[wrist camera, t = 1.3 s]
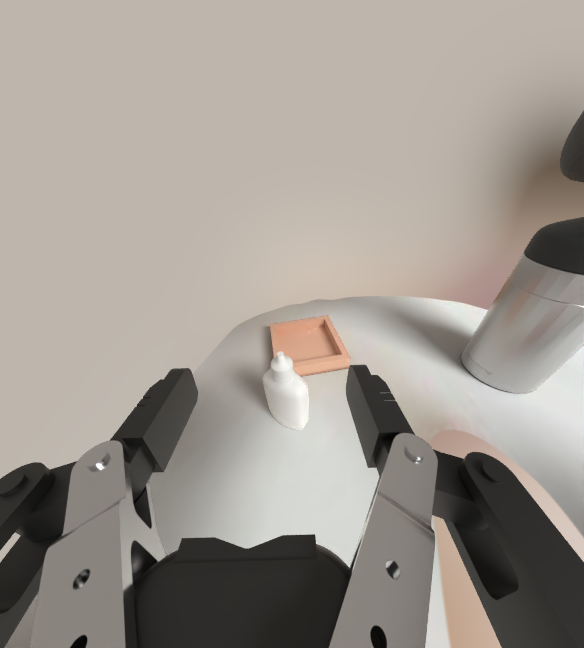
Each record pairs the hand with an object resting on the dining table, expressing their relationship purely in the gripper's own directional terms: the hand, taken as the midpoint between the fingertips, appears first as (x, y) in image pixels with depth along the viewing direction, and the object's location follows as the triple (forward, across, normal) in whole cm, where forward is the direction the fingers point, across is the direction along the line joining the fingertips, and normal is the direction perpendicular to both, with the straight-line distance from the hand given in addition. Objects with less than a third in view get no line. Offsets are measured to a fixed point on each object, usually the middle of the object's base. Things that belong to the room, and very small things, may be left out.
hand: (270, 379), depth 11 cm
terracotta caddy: (+24, -4, +16) cm, 28 cm away
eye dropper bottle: (+11, -1, +18) cm, 21 cm away
